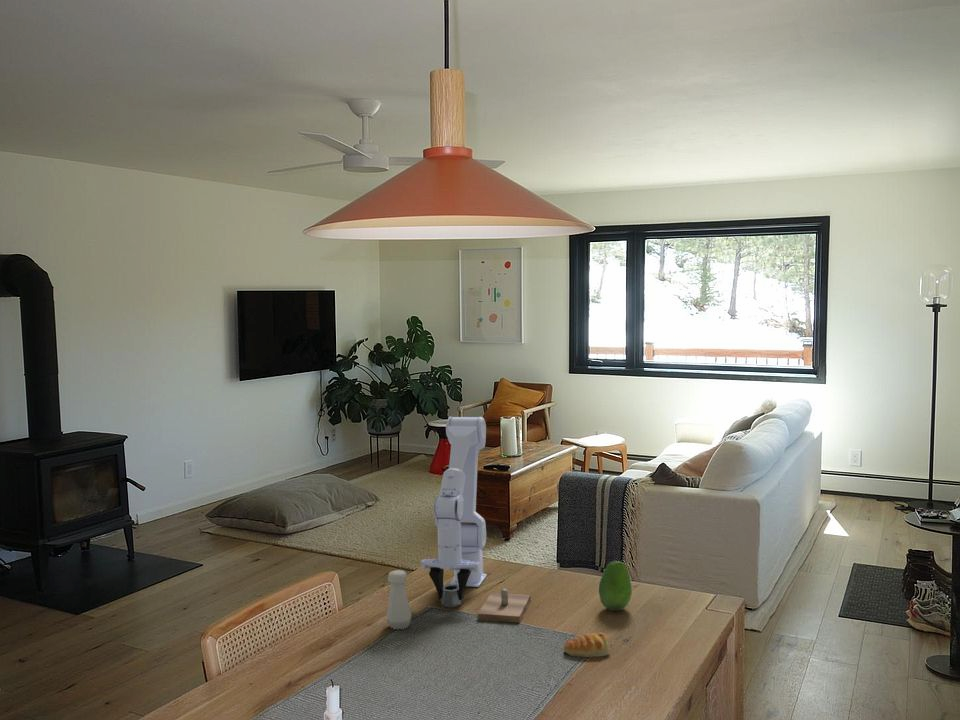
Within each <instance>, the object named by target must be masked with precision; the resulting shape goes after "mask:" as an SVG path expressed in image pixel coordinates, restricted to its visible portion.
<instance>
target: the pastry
mask: <svg viewBox="0 0 960 720" xmlns="http://www.w3.org/2000/svg"><path fill="white" fill-rule="evenodd" d="M563 651H564V652H565V653H566V654H567V655H570V656H571V657H580V656H581V658H592V657H605V656H608V655H609V654H610V651H611V650H610V643H609V641H608V637H607V635H606V634H605V633H604V632H602V631H601V632H600V631H599V632H598V633H593V632H591V633H583V634H582V635H580V636H578V637H573V638H571V639H569V640H567V641H566V642H565V643H564V646H563Z"/></svg>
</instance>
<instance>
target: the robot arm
mask: <svg viewBox="0 0 960 720" xmlns="http://www.w3.org/2000/svg"><path fill="white" fill-rule="evenodd" d="M445 435H446V437H447V440H448V443H449V444H450V454H449V461H448V462H449V463H448V468H447V469H446V470H444V472H443V473H442V480H441V485H440V489H439V495H438V497H436V498H434V501H433V517H434V521H435V523H434V525H435V527H437V550H438V551H437V554H438V555H437V557H438V558H425V559H422V560H421V561H420V569H421V570H427V569H429V572H428V574H429V577H430V578H431V580H432V582H433V584H434V587H435V589H436V594H437V597H438V599H439V600H441V588H442V587H443V586H444V571H445V570H450V571H451V570H453V579H452V580H451V581H450V583H449V585H458V586H459V600H461V601H463V599H464V598H465V591H466V587H468V588H469V587H471V588H472V587H473V588H479V587H480V586H481V584H483V581H484V580H485V578H487V576H488V575H487V573H484V560H483V559H484V557H483V555H484V554H483V550H482V549H484V547H485V546H486V544H487V527H486V526H487V525H486V524H487V523H486V520H485V518H484V517H483V516H481V514H479V513H478V512H477V511H476V510H477V492H478V491H477V489H478V465H479V464H478V463H479V460H478V459H479V454H480V450H483V449H484V448H485V447H486V439H487V424H486V420H485V418H484V417H483V416H470V417H469V416H449V417H448V418H447V420H446V423H445ZM466 523H469V524H466ZM471 523H472V524H471Z"/></svg>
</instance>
